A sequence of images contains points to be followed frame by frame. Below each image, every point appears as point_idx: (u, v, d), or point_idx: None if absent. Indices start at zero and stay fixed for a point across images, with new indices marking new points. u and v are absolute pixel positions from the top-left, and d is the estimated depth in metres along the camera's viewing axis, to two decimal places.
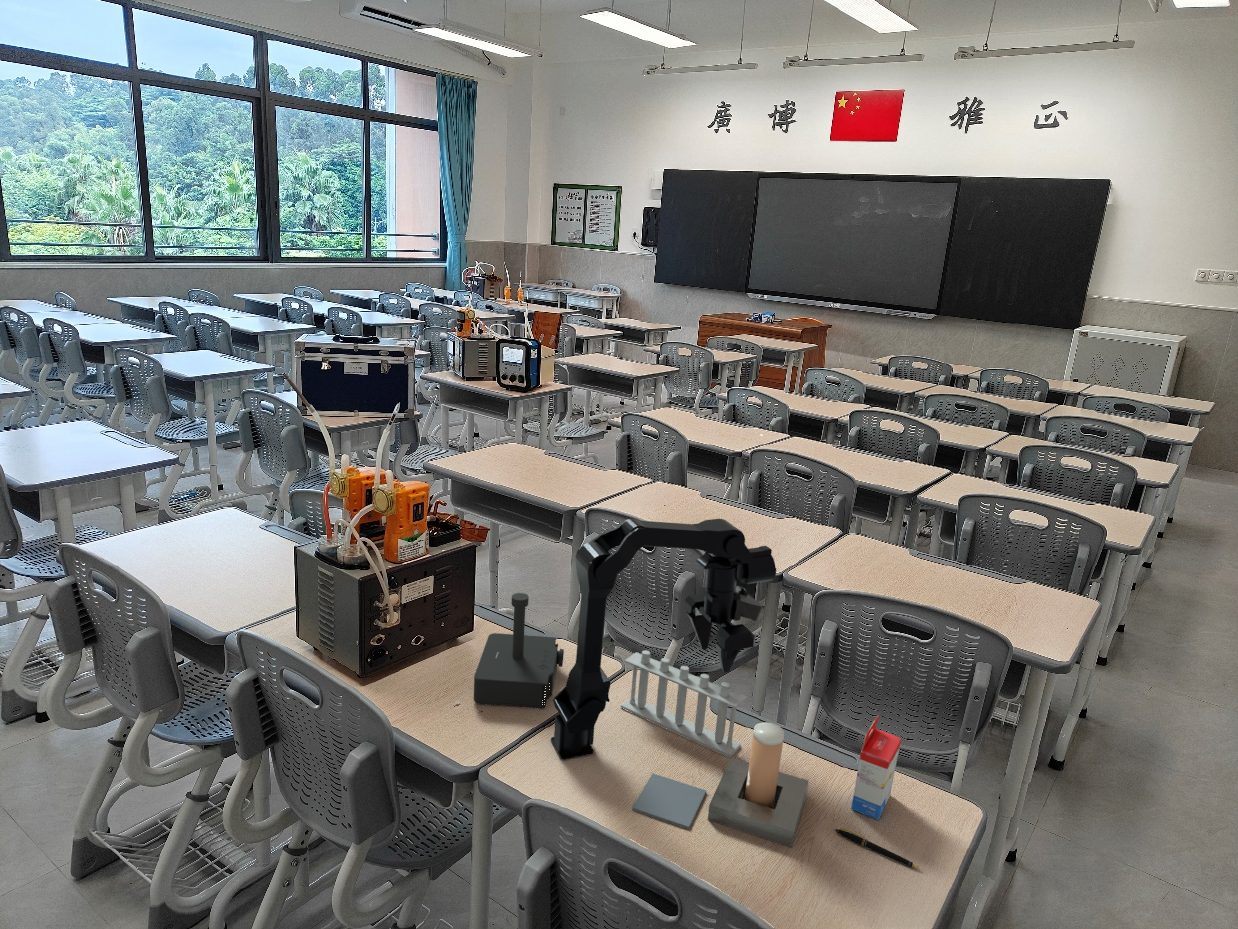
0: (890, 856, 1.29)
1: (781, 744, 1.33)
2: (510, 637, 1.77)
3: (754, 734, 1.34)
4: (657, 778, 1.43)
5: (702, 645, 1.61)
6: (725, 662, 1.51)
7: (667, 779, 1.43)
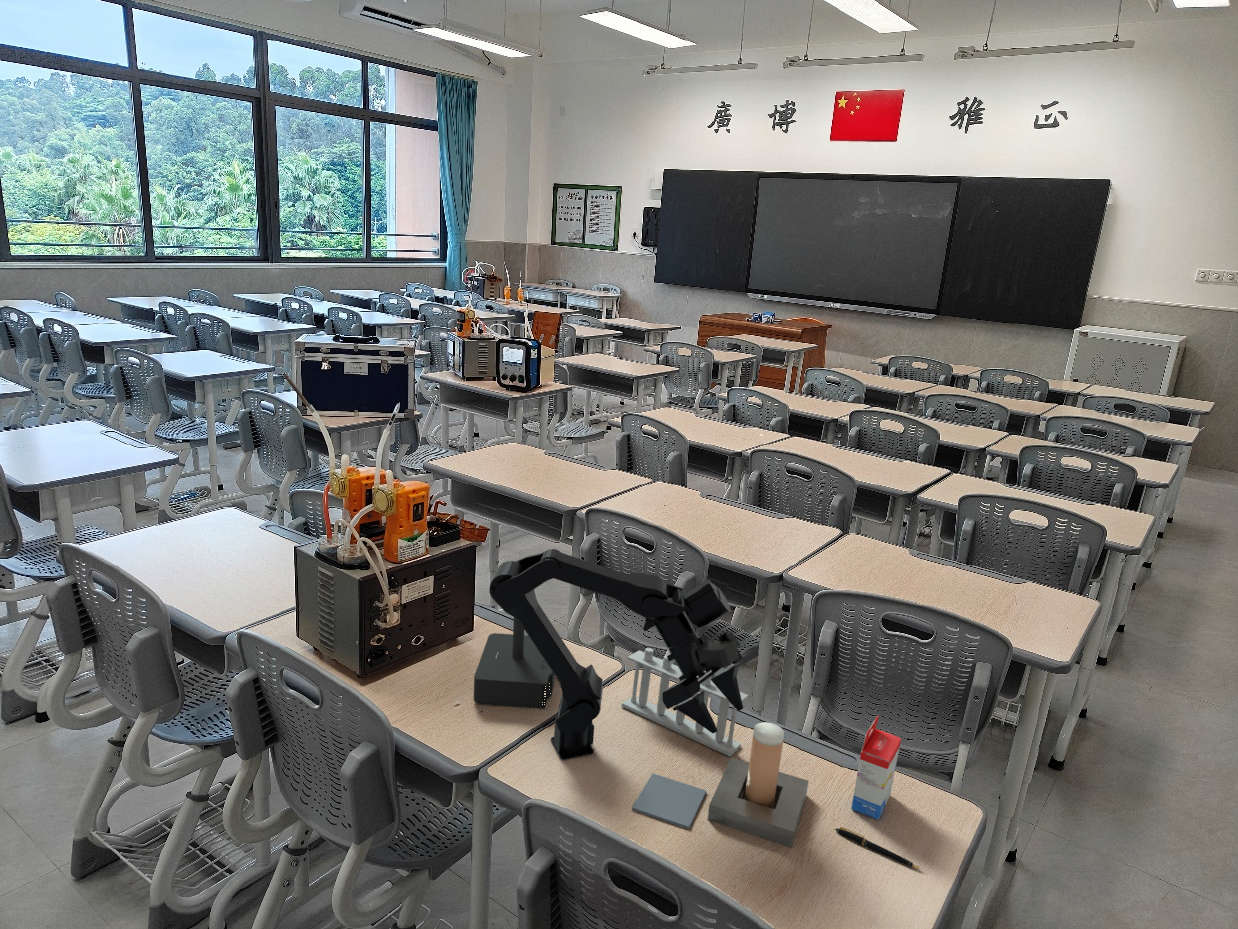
0: (890, 856, 1.29)
1: (781, 744, 1.33)
2: (510, 637, 1.77)
3: (754, 734, 1.34)
4: (657, 778, 1.43)
5: (735, 706, 1.44)
6: (700, 721, 1.36)
7: (667, 779, 1.43)
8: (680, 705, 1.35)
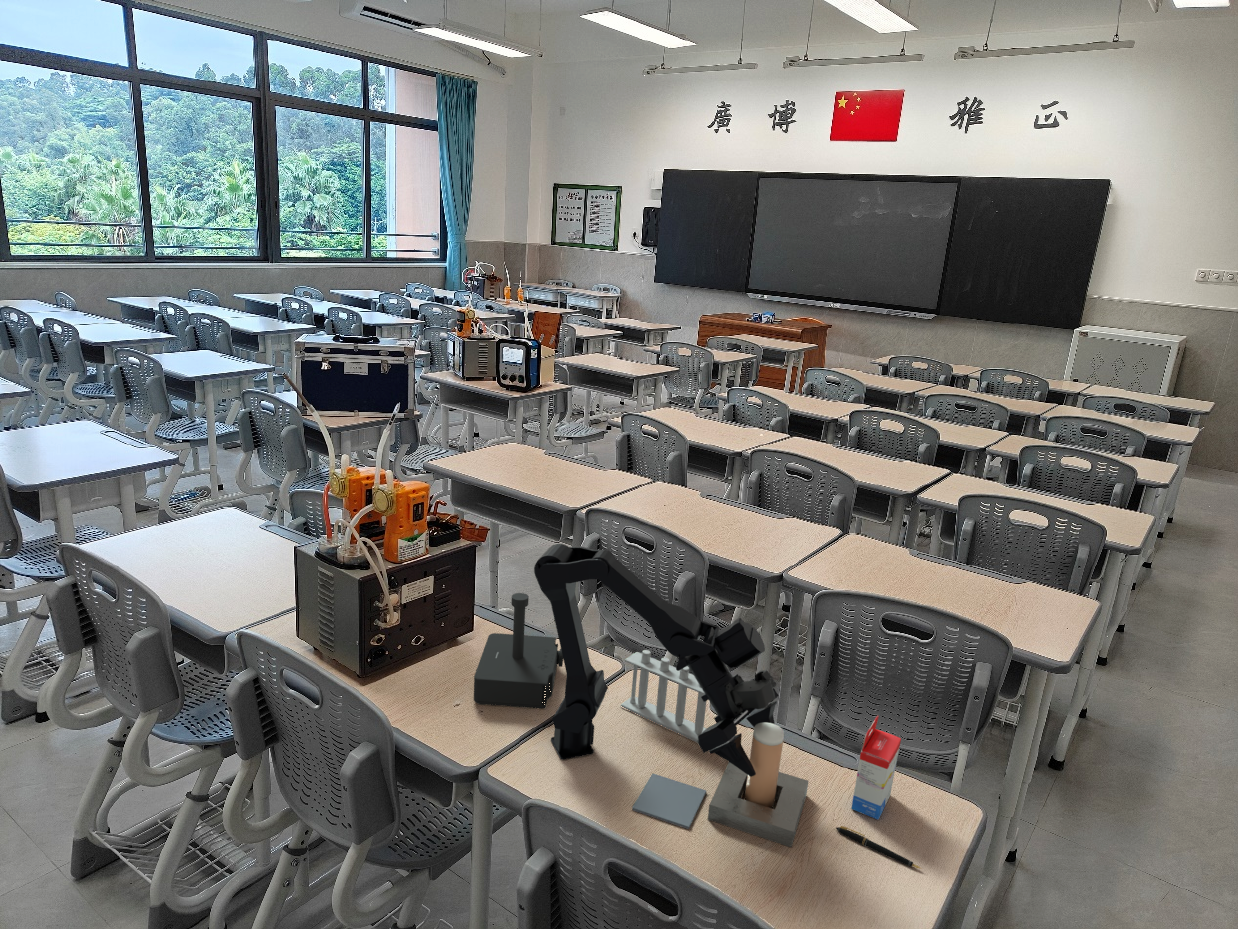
0: (890, 855, 1.29)
1: (781, 744, 1.33)
2: (510, 637, 1.77)
3: (754, 734, 1.34)
4: (657, 778, 1.43)
5: None
6: (738, 765, 1.33)
7: (667, 779, 1.43)
8: (717, 748, 1.32)
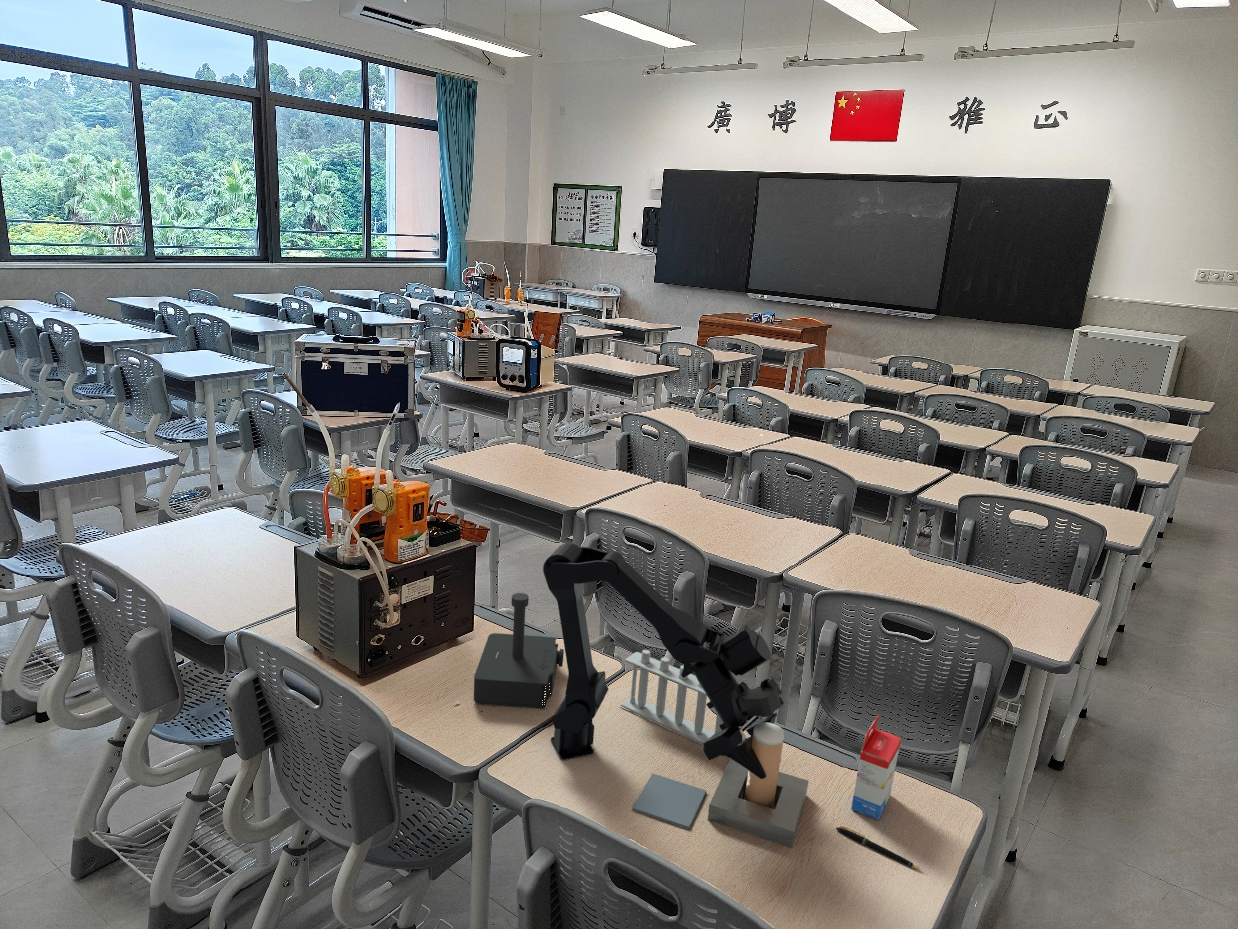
0: (890, 856, 1.29)
1: (781, 744, 1.33)
2: (510, 637, 1.77)
3: (754, 734, 1.34)
4: (657, 778, 1.43)
5: None
6: (749, 767, 1.34)
7: (667, 779, 1.43)
8: None
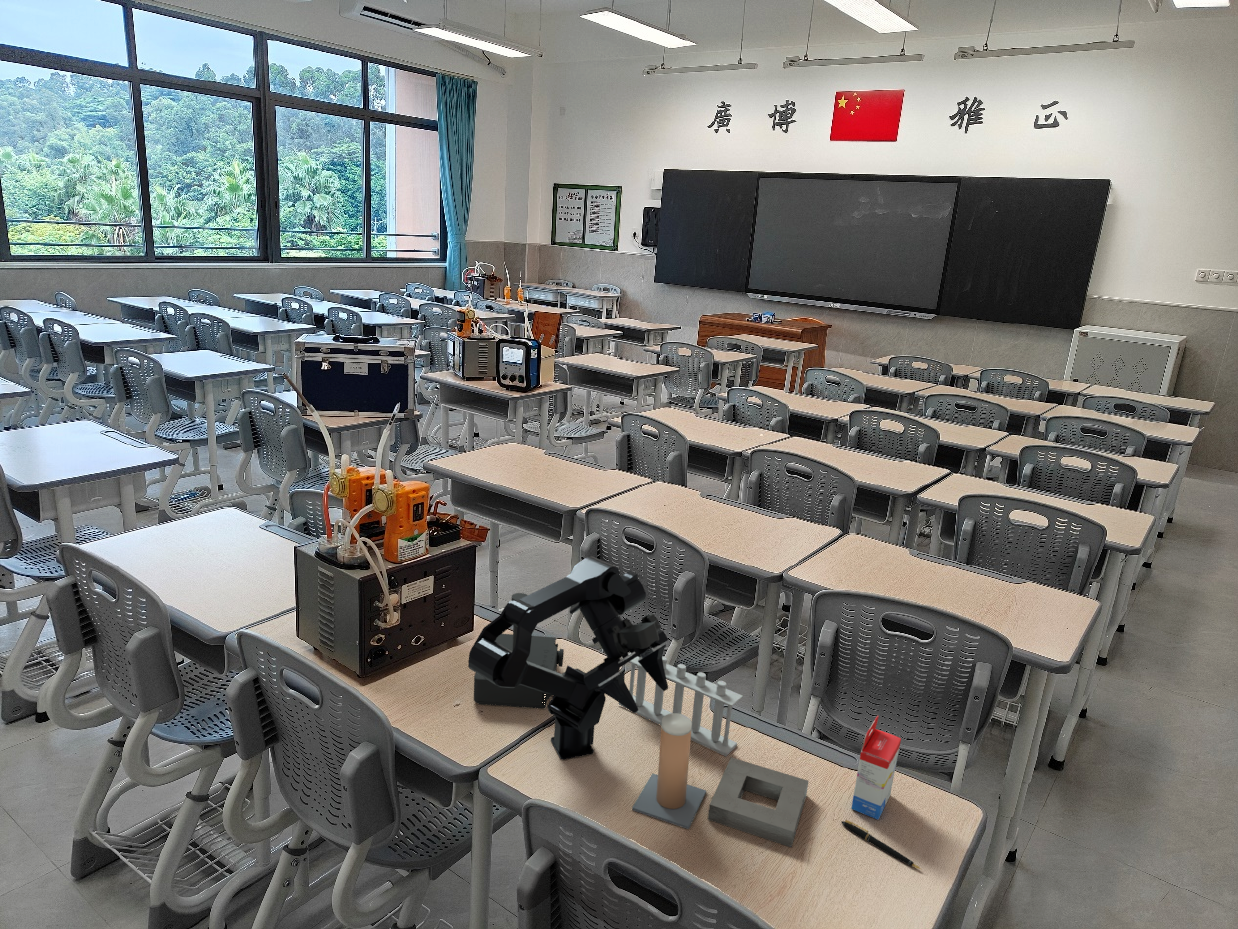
0: (891, 853, 1.30)
1: (689, 734, 1.33)
2: (510, 637, 1.77)
3: (662, 725, 1.34)
4: (657, 778, 1.43)
5: (660, 686, 1.47)
6: (622, 701, 1.40)
7: None
8: (601, 686, 1.39)
